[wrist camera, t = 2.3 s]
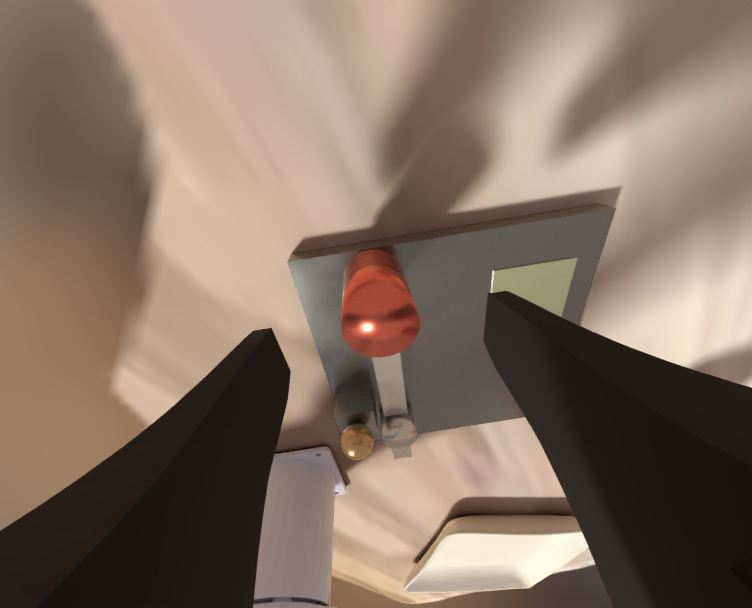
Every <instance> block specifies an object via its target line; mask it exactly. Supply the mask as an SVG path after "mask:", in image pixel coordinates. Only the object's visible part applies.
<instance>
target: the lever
mask: <svg viewBox="0 0 752 608" xmlns="http://www.w3.org/2000/svg"><path fill="white" fill-rule="evenodd" d="M419 330H420V318H419V315H418V312H417V309H416V306H415V303H414V301H413V298H412V295H411V292H410V289H409V287H408V284H407V281H406V278H405V276H404V273H403V270H402V267H401V265H400V263H399V262H398V260H397V259H396V258H395V257H394V256H392V255H391V254H389V253H387V252H385V251H381V250H367V251H364V252H361V253H359V254H357V255H356V256H354V257H353V258H352V259H351V260H350V261H349V262H348V264H347V265H346V268H345V270H344V275H343V298H342V321H341V331H342V336H343V338H344V340H345V342H346V343H347V345H348V346H349V347H350V348H351V349H353V350H354V351H356V352H357V353H359V354H362V355H365V356H368V357H372V359H373V364H374V369H375V374H376V379H377V384H378V389H379V394H380V399H381V403H382V408H383V411H382V412H381V413H380V424H381V434H382V442H383V444H384V445H386V446H387V447H390V448H392V451H393V456H394V459H397V458H404V457H410V456H412V454H411V446H410V445H411V444H413V443H414V442H415V441H416V439H417V433H416V428H415V423H414V419H413V414H412V410H411V409H410V408H409V407H407V404H406V396H405V388H404V380H403V372H402V364H401V356H400V352H401V351H403V350H405V349H406V348H408V347H409V346H410V345H411V344H412V343H413V342H414V340H415V339H416V337H417V335H418V333H419Z"/></svg>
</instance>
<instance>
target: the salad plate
mask: <svg viewBox="0 0 752 608" xmlns="http://www.w3.org/2000/svg"><path fill="white" fill-rule="evenodd" d="M587 548H589V547H588V545H587V542H586V540H585V538H584V536H583V533H582V531H581V529H580V526H579V524H578V522H577V520H576V517H572V516H557V515H476V516H465V517H460V518H456V519H453V520H451V521H449V522H448V523H447V524H446V526H445V527H444V528H443V530H442V531H441V533H440V534H439V536H438V537H437V539H436V540H435V541H434V543H433V544H432V545H431V547H430V548H429V550H428V551H427V552H426V554H425V555H424V556H423V557H422V559H421V560H420V561H419V562H418V563H417V565H416V566H415V567H414V568H413V570H412V571H411V573H410V574H409V576H408V578H407V580H406V583H405V585H404V592H405V593H430V592H477V591H491V590H503V589H519V588H530V587H531V586H533V585H535V584H536V583H537V582H539V581H541V580H542V579H544V578H545V577H547V576H548V575H550V574H552V573H553V572H555V571H556V570H558V569H559V568H561V567H562V566H564V565H565V564H566V563H568V562H569V561H571V560H572V559H573V558H575V557H576V556H577V555H579V554H580V553H582V552H583V551H585V550H586V549H587Z"/></svg>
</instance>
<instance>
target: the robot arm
mask: <svg viewBox="0 0 752 608" xmlns="http://www.w3.org/2000/svg"><path fill="white" fill-rule="evenodd" d="M483 341H484V344H485V346H486V349H487V351H488V353H489V356H490V358H491V360H492V362H493V364H494V366H495V368H496V370H497V372H498V373H499V375H500V377H501V378H502V380H503V382H504V383H505V385H506V386H507V388H508V390H509V391H510V393H511V395H512V396H513V398H514V399H515V401H516V403H517V404H518V406H519V408H520V409H521V411H522V412H523V414H524V416H525V417H526V419H527V421H528V422H529V424H530V425H531V427H532V429H533V431H534V432H535V434H536V436H537V438H538V439H539V441H540V443H541V445H542V447H543V449H544V451H545V453H546V455H547V458H548V460H549V462H550V464H551V466H552V468H553V470H554V472H555V474H556V476H557V478H558V480H559V482H560V485H561V487H562V489H563V491H564V493H565V495H566V497H567V500H568V502H569V504H570V506H571V508H572V510H573V513H574V515H575V517H576V520H577V522H578V524H579V526H580V529H581V531H582V533H583V536H584V538H585V540H586V542H587V545H588V547H589V549H590V552H591V554H592V556H593V559H594V561H595V564H596V566H597V568H598V571H599V573H600V576H601V578H602V581H603V583H604V586H605V588H606V590H607V593H608V596H609V598H610V601H611V603H612V605H613V608H752V388H751V387H747V386H744V385H740V384H737V383H733V382H730V381H727V380H724V379H721V378H717V377H714V376H711V375H708V374H705V373H701V372H698V371H695V370H692V369H689V368H686V367H683V366H680V365H677V364H674V363H671V362H668V361H665V360H663V359H660V358H657V357H654V356H652V355H649V354H646V353H644V352H641V351H638V350H636V349H633V348H630V347H628V346H625V345H623V344H620V343H618V342H615V341H613V340H611V339H608V338H606V337H604V336H601V335H599V334H597V333H595V332H592V331H590V330H588V329H585V328H583V327H581V326H579V325H577V324H575V323H573V322H570V321H568V320H566V319H564V318H562V317H560V316H558V315H556V314H554V313H552V312H550V311H548V310H546V309H544V308H542V307H540V306H538V305H536V304H534V303H532V302H530V301H528V300H526V299H524V298H522V297H520V296H518V295H516V294H513V293H511V292H509V291H500V292H494V293H488V296H487V306H486V317H485V327H484V338H483ZM290 372H291V371H290V369H289V366H288V364H287V362H286V360H285V357H284V355H283V353H282V351H281V348H280V346H279V344H278V342H277V339H276V337H275V335H274V333H273V330H272V328H268V329H262V330H256V331H253V332H252V333H250V334H249V335H248V336H247V337H246V338H245V339H244V340H243V341H242V342H241V343H240V344H239V345H237V346H236V347H235V348H234V349H233V350H232V351H231V352H230V353H229V354H228V355H227V356H226V357H225V358H224V359H223V360H222V361H221V362H220V363H219V364H218V365H217V366H216V367H215V368H214V369H213V370H212V371H211V372H210V373H209V374H208V375H207V376H206V377H205V378H204V379H203V380H202V381H200V382H199V383H198V384H197V385H196V386H195V387H194V388H193V389H192V390H191V391H189V392H188V393H187V394H186V395H185V396H184V397H183V398H182V399H181V400H180V401H178V402H177V403H176V404H175V405H174V406H173V407H172V408H171V409H169V410H168V411H167V412H166V413H165V414H164V415H162V416H161V417H160V418H159V419H158V420H156V421H155V422H154V423H153V424H152V425H150V426H149V427H148V428H147V429H145V430H144V431H143V432H141V433H140V434H139V435H138V436H136V437H135V438H134V439H133V440H131V441H130V442H129V443H127V444H126V445H125V446H124V447H122V448H121V449H120V450H118V451H117V452H115V453H114V454H113V455H112V456H110V457H108V458H107V459H106V460H104V461H103V462H102V463H100V464H99V465H97V466H96V467H95V468H93V469H92V470H90V471H89V472H88V473H86V474H85V475H84V476H82V477H81V478H79V479H78V480H77V481H75V482H74V483H72V484H71V485H69V486H68V487H66V488H65V489H64V490H62V491H61V492H59V493H58V494H56V495H55V496H53V497H52V498H50V499H49V500H47V501H46V502H44V503H43V504H41V505H40V506H38V507H37V508H35V509H34V510H32V511H30V512H29V513H27V514H26V515H24V516H23V517H21V518H20V519H18V520H17V521H15V522H13V523H12V524H10V525H9V526H7V527H6V528H4V529H3V530H1V531H0V608H337V607H330V594H331V570H332V546H333V522H334V498H335V496H336V495H342V494H345V493H346V486H345V483H344V481H343V479H342V476H341V474H340V471H339V469H338V467H337V464H336V462H335V460H334V457H333V455H332V452H331V450H330V448H328V447H317V448H311V449H305V450H298V451H292V452H285V453H279V454H275V450H276V446H277V442H278V437H279V433H280V429H281V425H282V421H283V417H284V413H285V409H286V404H287V400H288V392H289V383H290Z"/></svg>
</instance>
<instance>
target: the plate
mask: <svg viewBox="0 0 752 608" xmlns="http://www.w3.org/2000/svg"><path fill="white" fill-rule="evenodd" d="M615 210H616V208H613V207H609V206H606V205H603V204H594V205H588V206H582V207H576V208H570V209H564V210H558V211H552V212H546V213H539V214H533V215H527V216H521V217H515V218H509V219H503V220H497V221H490V222H484V223H478V224H472V225H466V226H460V227H454V228H448V229H442V230H435V231H429V232H423V233H417V234H411V235H405V236H399V237H393V238H386V239H380V240H374V241H368V242H362V243H356V244H350V245H344V246H338V247H331V248H325V249H319V250H313V251H307V252H301V253H295V254H291V255H290V258H289V260H288V265H289V268H290V271H291V274H292V277H293V280H294V283H295V285H296V288H297V291H298V294H299V297H300V300H301V303H302V306H303V309H304V312H305V315H306V318H307V320H308V323H309V326H310V329H311V332H312V335H313V338H314V341H315V344H316V347H317V350H318V353H319V355H320V358H321V361H322V364H323V367H324V370H325V373H326V376H327V379H328V382H329V385H330V387H331V390H332V393H333V396H334V399H335V404H334V419H335V422H336V425H337V427H338V430H339V433H340V435H341V440H340V444H341V449H342V451H343V453H344V454H345V455H346V456H347V457H348V458H350V459H352V460H361V459H364V458H366V457H367V456H368V455H369V454H370V453H371V451H372V449H373V446H374V440H381V439H382V434H381V424H380V413H381V412H382V411H383V408H382V403H381V399H380V394H379V389H378V384H377V379H376V374H375V369H374V364H373V359H372V357H368V356H365V355H362V354H359V353H357V352H356V351H354V350H353V349H351V348H350V347H349V346H348V345H347V343H346V342H345V340H344V338H343V336H342V331H341V321H342V298H343V275H344V270H345V268H346V265H347V264H348V262H349V261H350V260H351V259H352V258H353V257H354V256H356V255H357V254H359V253H361V252H364V251H367V250H381V251H385V252H387V253H389V254H391V255H392V256H394V257H395V258H396V259H397V260H398V262H399V263H400V265H401V267H402V270H403V273H404V276H405V278H406V281H407V284H408V287H409V289H410V292H411V295H412V298H413V301H414V303H415V306H416V309H417V312H418V315H419V318H420V330H419V333H418V335H417V337H416V339H415V340H414V342H413V343H412V344H411V345H410V346H409V347H408V348H406V349H405V350H403V351H401V352H400V356H401V364H402V372H403V380H404V388H405V396H406V404H407V407H409V408H410V409H411V410H412V414H413V419H414V423H415V428H416V433H417V434H419V433H426V432H432V431H439V430H445V429H451V428H458V427H464V426H471V425H477V424H484V423H490V422H496V421H503V420H509V419H516V418H522V417H525V416H524V414H523V412H522V411H521V409H520V408H519V406H518V404H517V403H516V401H515V399H514V398H513V396H512V395H511V393H510V391H509V390H508V388H507V386H506V385H505V383H504V382H503V380H502V378H501V377H500V375H499V373H498V372H497V370H496V368H495V366H494V364H493V362H492V360H491V358H490V356H489V353H488V351H487V349H486V346H485V344H484V341H483V338H484V327H485V317H486V306H487V296H488V293H494V292H500V291H509V292H511V293H513V294H516V295H518V296H520V297H522V298H524V299H526V300H528V301H530V302H532V303H534V304H536V305H538V306H540V307H542V308H544V309H546V310H548V311H550V312H552V313H554V314H556V315H558V316H560V317H562V318H564V319H566V320H568V321H570V322H573V323H575V324H577V325H578V324H579V320H580V317H581V314H582V311H583V308H584V305H585V302H586V299H587V296H588V293H589V290H590V287H591V283H592V280H593V277H594V274H595V271H596V268H597V265H598V262H599V259H600V256H601V253H602V250H603V247H604V243H605V240H606V237H607V234H608V231H609V228H610V225H611V222H612V219H613V216H614V213H615Z"/></svg>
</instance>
